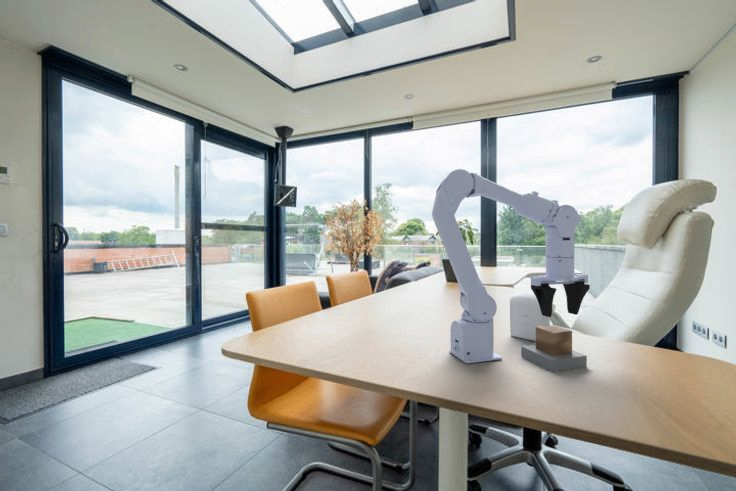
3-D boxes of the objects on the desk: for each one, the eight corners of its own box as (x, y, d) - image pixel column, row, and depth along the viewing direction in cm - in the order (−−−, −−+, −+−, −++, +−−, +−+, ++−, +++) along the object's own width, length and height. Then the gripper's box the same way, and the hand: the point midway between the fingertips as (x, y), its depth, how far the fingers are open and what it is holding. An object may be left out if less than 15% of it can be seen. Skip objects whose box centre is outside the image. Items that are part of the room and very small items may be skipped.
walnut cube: (553, 355, 68) (553, 332, 68) (535, 348, 73) (535, 326, 73) (572, 353, 69) (572, 330, 69) (553, 346, 74) (553, 324, 74)
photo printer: (507, 336, 90) (507, 293, 90) (514, 333, 93) (514, 291, 92) (546, 345, 82) (546, 298, 82) (552, 341, 85) (552, 295, 84)
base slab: (552, 374, 66) (552, 360, 65) (521, 358, 74) (521, 346, 74) (586, 369, 68) (586, 355, 68) (552, 354, 76) (552, 342, 76)
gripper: (547, 258, 68) (547, 321, 68) (600, 257, 71) (600, 316, 72) (524, 257, 75) (524, 314, 75) (573, 255, 78) (573, 309, 78)
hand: (559, 314), depth 74 cm, fingers open, 7 cm apart
